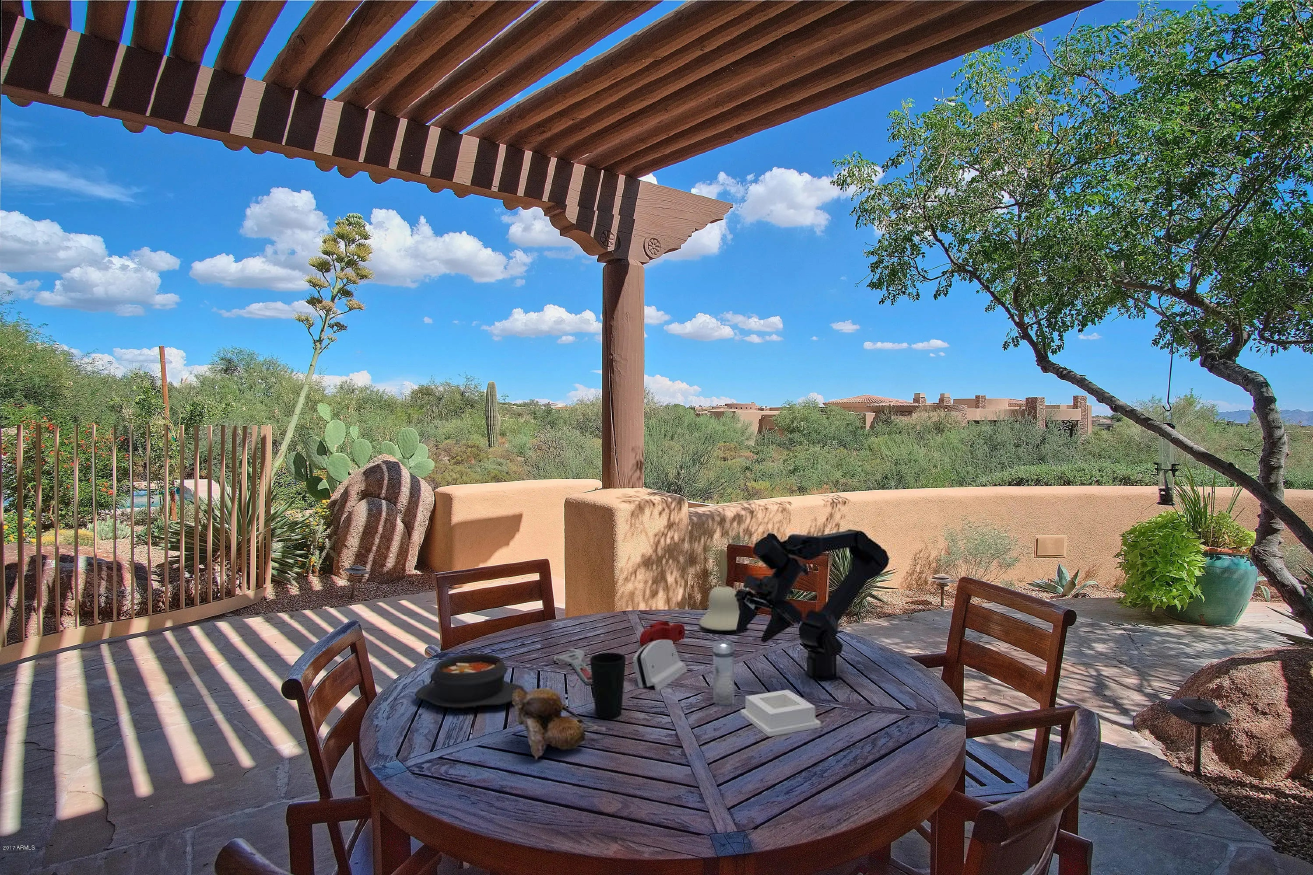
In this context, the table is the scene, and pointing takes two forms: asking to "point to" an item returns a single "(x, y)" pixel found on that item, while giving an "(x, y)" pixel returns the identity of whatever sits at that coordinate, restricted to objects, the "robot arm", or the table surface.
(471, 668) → the casserole
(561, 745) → the seed pod
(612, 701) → the cup
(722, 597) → the handbell
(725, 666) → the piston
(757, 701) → the white square hollow block
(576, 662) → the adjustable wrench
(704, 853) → the table surface
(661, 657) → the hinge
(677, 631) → the mechanical linkage
